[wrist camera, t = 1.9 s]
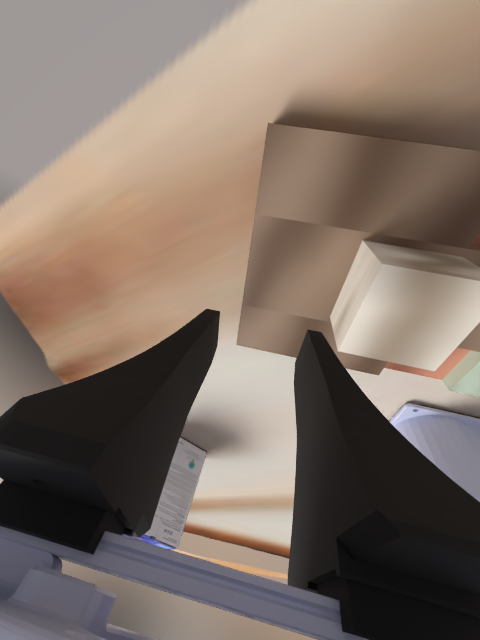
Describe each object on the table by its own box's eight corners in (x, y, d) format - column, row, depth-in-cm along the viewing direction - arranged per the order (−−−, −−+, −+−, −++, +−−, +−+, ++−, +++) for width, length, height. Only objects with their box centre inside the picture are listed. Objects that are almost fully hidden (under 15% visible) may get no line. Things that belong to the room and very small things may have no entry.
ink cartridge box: (144, 432, 39) (81, 549, 28) (158, 422, 36) (95, 548, 25) (190, 459, 42) (151, 575, 30) (208, 451, 39) (171, 577, 27)
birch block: (462, 257, 14) (512, 286, 11) (409, 332, 18) (434, 371, 14) (362, 240, 15) (381, 263, 11) (330, 316, 18) (337, 351, 15)
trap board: (844, 202, 11) (911, 207, 10) (546, 399, 21) (562, 414, 19) (270, 126, 13) (267, 123, 12) (239, 335, 23) (236, 344, 22)
